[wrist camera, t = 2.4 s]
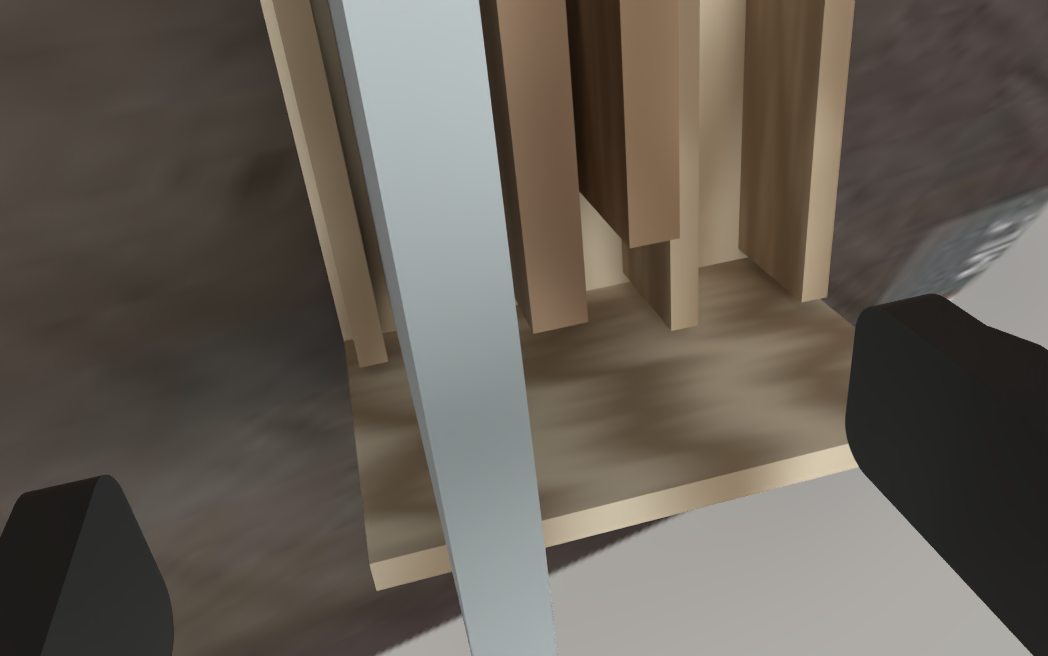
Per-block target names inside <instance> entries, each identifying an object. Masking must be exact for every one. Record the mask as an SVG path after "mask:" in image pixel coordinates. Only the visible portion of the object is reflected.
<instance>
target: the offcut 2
mask: <svg viewBox="0 0 1048 656" xmlns="http://www.w3.org/2000/svg"><path fill="white" fill-rule="evenodd" d="M565 1H566V15H567V30H568V44H569V58H570V72H571V86H572V100H573V114H574V128H575V142H576V156H577V170H578V184H579V192H580V193H581V194H582V195H583V196H584V198H585V199H586V200H587V201H588V202H589V203H590V204H591V205H592V207H593V208H594V209H595V210H596V211H597V212H598V213H599V214H600V216H601V217H602V218H603V219H604V220H605V221H606V222H607V223H608V225H609V226H610V227H611V228H612V229H613V230H614V231H615V232H616V234H617V235H618V236H619V237H620V238H621V239H622V240H623V241H624V243H625V244H626V245H627V246H628V247H629V248H634V247H639V246H644V245H649V244H654V243H659V242H664V241H669V240H674V239H679V238H680V181H679V33H678V0H565Z"/></svg>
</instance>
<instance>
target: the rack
mask: <svg viewBox="0 0 1048 656" xmlns="http://www.w3.org/2000/svg"><path fill="white" fill-rule="evenodd" d="M260 2H261V6H262V10H263V14H264V18H265V22H266V26H267V30H268V34H269V38H270V42H271V47H272V51H273V55H274V59H275V63H276V67H277V71H278V75H279V79H280V83H281V87H282V91H283V95H284V99H285V103H286V108H287V112H288V116H289V120H290V124H291V128H292V132H293V136H294V140H295V144H296V148H297V152H298V156H299V160H300V164H301V168H302V173H303V177H304V181H305V185H306V189H307V193H308V197H309V201H310V205H311V209H312V213H313V217H314V221H315V225H316V229H317V234H318V238H319V242H320V246H321V250H322V254H323V258H324V262H325V266H326V270H327V274H328V278H329V282H330V286H331V290H332V295H333V299H334V303H335V307H336V311H337V315H338V319H339V323H340V327H341V331H342V335H343V339H344V346H345V354H346V363H347V372H348V381H349V389H350V398H351V407H352V416H353V424H354V433H355V442H356V451H357V459H358V468H359V477H360V486H361V494H362V503H363V512H364V521H365V529H366V538H367V547H368V556H369V564H370V568H371V572H372V575H373V579H374V583H375V586H376V590H377V591H378V590H382V589H386V588H390V587H394V586H398V585H402V584H406V583H409V582H413V581H417V580H421V579H425V578H429V577H433V576H437V575H441V574H444V573H448V572H452V568H451V564H450V559H449V555H448V551H447V546H446V542H445V538H444V533H443V529H442V525H441V520H440V516H439V512H438V507H437V503H436V499H435V494H434V490H433V486H432V481H431V477H430V473H429V468H428V464H427V460H426V455H425V451H424V447H423V442H422V438H421V434H420V429H419V425H418V421H417V416H416V412H415V408H414V403H413V399H412V395H411V390H410V386H409V382H408V377H407V373H406V368H405V364H404V360H403V355H402V351H401V347H400V342H399V338H398V334H397V329H396V325H395V321H394V316H393V312H392V308H391V303H390V299H389V295H388V290H387V286H386V281H385V277H384V272H383V267H382V262H381V257H380V253H379V248H378V243H377V238H376V233H375V228H374V224H373V219H372V214H371V209H370V204H369V200H368V195H367V190H366V185H365V180H364V175H363V171H362V166H361V161H360V156H359V151H358V147H357V142H356V137H355V132H354V127H353V122H352V118H351V113H350V108H349V103H348V98H347V94H346V89H345V84H344V79H343V74H342V69H341V65H340V60H339V55H338V50H337V45H336V41H335V36H334V31H333V26H332V21H331V16H330V12H329V7H328V2H327V0H260ZM854 5H855V0H678V33H679V181H680V238H679V239H674V240H669V241H664V242H659V243H654V244H649V245H644V246H639V247H634V248H629V247H628V246H627V245H626V244H625V243H624V241H623V240H622V239H621V238H620V237H619V236H618V235H617V234H616V232H615V231H614V230H613V229H612V228H611V227H610V226H609V225H608V223H607V222H606V221H605V220H604V219H603V218H602V217H601V216H600V214H599V213H598V212H597V211H596V210H595V209H594V208H593V207H592V205H591V204H590V203H589V202H588V201H587V200H586V199H585V198H584V196H583V195H582V194H581V193H580V192H579V198H580V212H581V226H582V240H583V254H584V268H585V282H586V296H587V310H588V322H586V323H582V324H577V325H572V326H568V327H563V328H558V329H554V330H549V331H544V332H540V333H535V334H533V332H532V330H531V328H530V326H529V324H528V322H527V321H526V319H525V317H524V315H523V313H522V311H521V309H520V307H519V305H518V303H517V301H516V299H515V304H516V313H517V321H518V329H519V337H520V346H521V354H522V362H523V370H524V379H525V387H526V395H527V404H528V412H529V420H530V428H531V437H532V445H533V453H534V461H535V470H536V478H537V486H538V495H539V503H540V511H541V519H542V528H543V536H544V544H545V548H546V547H550V546H554V545H557V544H561V543H565V542H569V541H573V540H577V539H581V538H585V537H589V536H592V535H596V534H600V533H604V532H608V531H612V530H616V529H620V528H624V527H628V526H631V525H635V524H639V523H643V522H647V521H651V520H655V519H659V518H663V517H666V516H670V515H674V514H678V513H682V512H686V511H690V510H694V509H698V508H701V507H705V506H709V505H713V504H717V503H721V502H725V501H729V500H733V499H736V498H740V497H744V496H748V495H752V494H756V493H760V492H764V491H768V490H771V489H776V488H779V487H783V486H787V485H791V484H795V483H799V482H802V481H807V480H811V479H814V478H818V477H822V476H826V475H830V474H834V473H838V472H841V471H846V470H849V469H853V468H857V467H859V466H858V465H857V463H856V461H855V459H854V457H853V455H852V453H851V450H850V447H849V444H848V440H847V436H846V430H845V414H846V406H847V397H848V388H849V379H850V371H851V362H852V353H853V344H854V335H855V327H854V326H852V325H851V324H850V323H849V322H847V321H846V320H845V319H844V318H843V317H841V316H840V315H839V314H838V313H836V312H835V311H834V310H833V309H832V308H830V307H829V306H828V305H827V304H825V303H824V302H823V301H822V300H821V299H820V298H825V297H827V291H828V280H829V270H830V259H831V249H832V238H833V227H834V217H835V206H836V196H837V185H838V174H839V164H840V153H841V143H842V132H843V121H844V111H845V100H846V89H847V79H848V68H849V58H850V47H851V36H852V26H853V15H854Z"/></svg>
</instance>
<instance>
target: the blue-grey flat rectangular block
mask: <svg viewBox="0 0 1048 656" xmlns="http://www.w3.org/2000/svg"><path fill="white" fill-rule="evenodd" d="M327 2H328V7H329V12H330V16H331V21H332V26H333V31H334V36H335V41H336V45H337V50H338V55H339V60H340V65H341V69H342V74H343V79H344V84H345V89H346V94H347V98H348V103H349V108H350V113H351V118H352V122H353V127H354V132H355V137H356V142H357V147H358V151H359V156H360V161H361V166H362V171H363V175H364V180H365V185H366V190H367V195H368V200H369V204H370V209H371V214H372V219H373V224H374V228H375V233H376V238H377V243H378V248H379V253H380V257H381V262H382V267H383V272H384V277H385V281H386V286H387V290H388V295H389V299H390V303H391V308H392V312H393V316H394V321H395V325H396V329H397V334H398V338H399V342H400V347H401V351H402V355H403V360H404V364H405V368H406V373H407V377H408V382H409V386H410V390H411V395H412V399H413V403H414V408H415V412H416V416H417V421H418V425H419V429H420V434H421V438H422V442H423V447H424V451H425V455H426V460H427V464H428V468H429V473H430V477H431V481H432V486H433V490H434V494H435V499H436V503H437V507H438V512H439V516H440V520H441V525H442V529H443V533H444V538H445V542H446V546H447V551H448V555H449V559H450V564H451V568H452V572H453V577H454V581H455V585H456V590H457V594H458V598H459V603H460V607H461V611H462V616H463V620H464V624H465V628H466V633H467V637H468V642H469V646H470V650H471V655H472V656H558V652H557V644H556V635H555V627H554V619H553V610H552V602H551V594H550V586H549V577H548V569H547V561H546V552H545V544H544V536H543V528H542V519H541V511H540V503H539V495H538V486H537V478H536V470H535V461H534V453H533V445H532V437H531V428H530V420H529V412H528V404H527V395H526V387H525V379H524V370H523V362H522V354H521V346H520V337H519V329H518V321H517V313H516V304H515V296H514V288H513V279H512V271H511V263H510V255H509V246H508V238H507V230H506V222H505V213H504V205H503V197H502V188H501V180H500V172H499V164H498V155H497V147H496V139H495V131H494V122H493V114H492V106H491V98H490V89H489V81H488V73H487V64H486V56H485V48H484V40H483V31H482V23H481V15H480V7H479V0H327Z"/></svg>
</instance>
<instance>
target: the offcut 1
mask: <svg viewBox="0 0 1048 656" xmlns="http://www.w3.org/2000/svg"><path fill="white" fill-rule="evenodd" d="M479 7H480V15H481V23H482V31H483V40H484V48H485V56H486V64H487V73H488V81H489V89H490V98H491V106H492V114H493V122H494V131H495V139H496V147H497V155H498V164H499V172H500V180H501V188H502V197H503V205H504V213H505V222H506V230H507V238H508V246H509V255H510V263H511V271H512V279H513V288H514V296H515V299H516V301H517V303H518V305H519V307H520V309H521V311H522V313H523V315H524V317H525V319H526V321H527V322H528V324H529V326H530V328H531V330H532V332H533V334H535V333H540V332H544V331H549V330H554V329H558V328H563V327H568V326H572V325H577V324H582V323H586V322H588V310H587V296H586V282H585V268H584V254H583V240H582V226H581V212H580V198H579V184H578V170H577V156H576V142H575V128H574V114H573V100H572V86H571V72H570V58H569V44H568V30H567V15H566V1H565V0H479Z"/></svg>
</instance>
